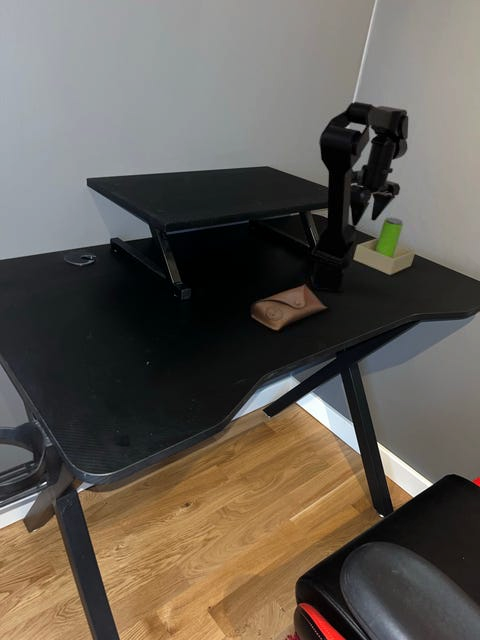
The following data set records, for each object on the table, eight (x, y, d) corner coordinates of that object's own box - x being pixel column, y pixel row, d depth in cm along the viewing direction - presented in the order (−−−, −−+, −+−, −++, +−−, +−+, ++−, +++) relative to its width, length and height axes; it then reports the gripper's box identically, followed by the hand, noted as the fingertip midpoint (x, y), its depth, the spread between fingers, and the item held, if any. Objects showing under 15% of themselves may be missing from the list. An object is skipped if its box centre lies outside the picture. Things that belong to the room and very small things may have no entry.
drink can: (383, 265, 131) (395, 224, 124) (369, 258, 134) (380, 218, 128) (395, 263, 133) (407, 222, 127) (381, 256, 137) (392, 216, 131)
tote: (389, 275, 127) (394, 260, 124) (353, 259, 134) (356, 245, 131) (410, 265, 134) (415, 251, 132) (375, 251, 141) (379, 237, 139)
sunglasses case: (278, 331, 93) (270, 299, 92) (255, 332, 99) (247, 303, 98) (329, 307, 105) (323, 279, 104) (306, 310, 110) (299, 283, 109)
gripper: (371, 153, 125) (358, 209, 132) (331, 157, 113) (318, 218, 121) (408, 162, 118) (391, 221, 126) (369, 168, 106) (354, 232, 114)
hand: (363, 222), depth 122 cm, fingers open, 9 cm apart
